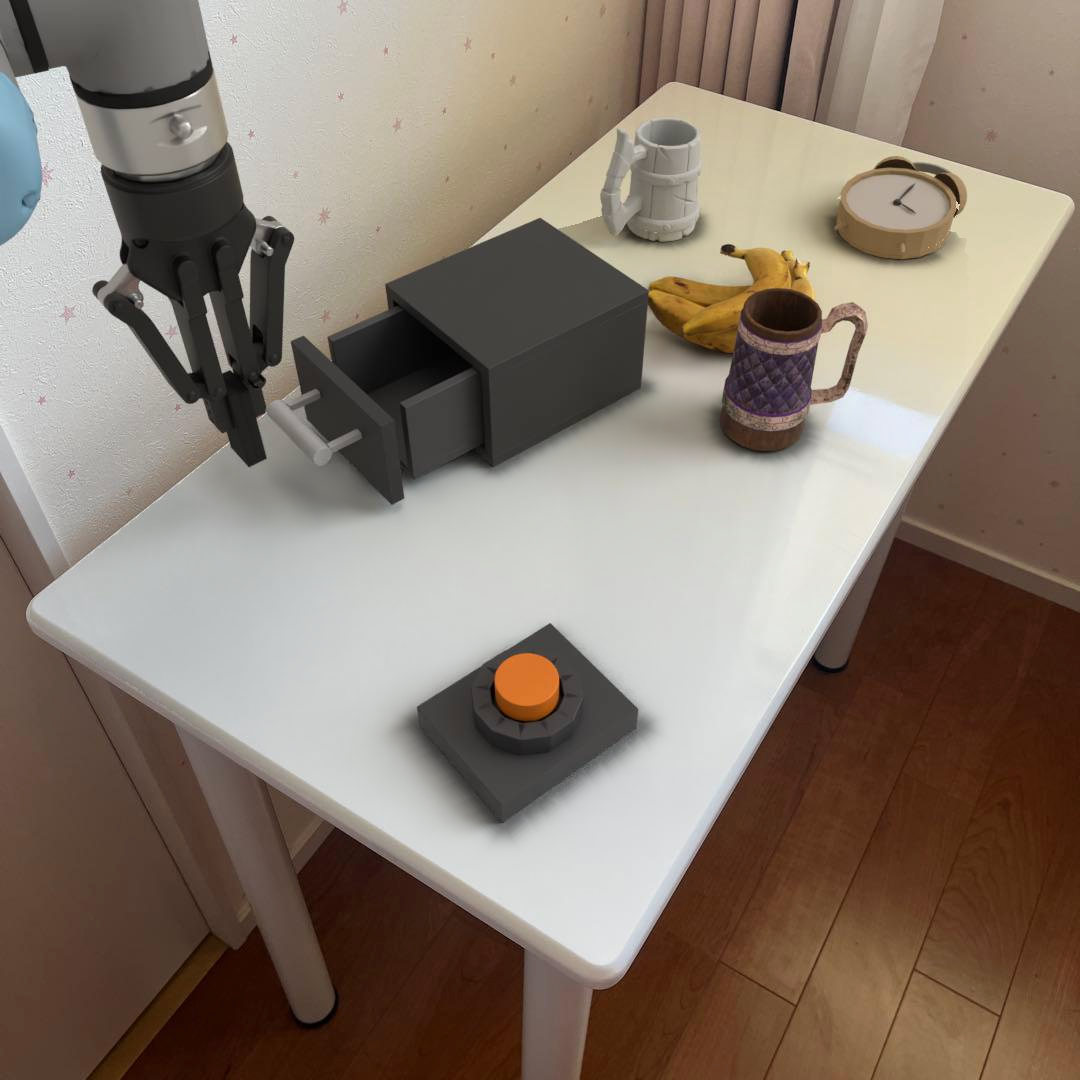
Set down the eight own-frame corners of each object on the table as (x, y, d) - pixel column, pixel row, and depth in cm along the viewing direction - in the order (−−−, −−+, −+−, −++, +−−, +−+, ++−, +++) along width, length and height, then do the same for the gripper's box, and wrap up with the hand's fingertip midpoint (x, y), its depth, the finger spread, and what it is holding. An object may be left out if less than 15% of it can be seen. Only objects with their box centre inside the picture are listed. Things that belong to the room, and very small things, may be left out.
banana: (844, 289, 105) (856, 236, 101) (755, 396, 95) (765, 342, 90) (702, 240, 111) (708, 188, 107) (603, 336, 100) (606, 282, 96)
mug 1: (714, 226, 113) (728, 113, 104) (626, 266, 108) (633, 151, 99) (664, 195, 117) (673, 84, 108) (577, 233, 112) (579, 120, 103)
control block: (502, 823, 67) (500, 789, 64) (419, 725, 72) (413, 690, 69) (636, 728, 72) (640, 692, 69) (550, 642, 77) (550, 605, 74)
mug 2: (719, 452, 90) (739, 332, 81) (716, 396, 95) (734, 276, 86) (847, 458, 89) (880, 337, 80) (837, 401, 94) (867, 281, 85)
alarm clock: (818, 210, 109) (891, 128, 115) (813, 248, 113) (885, 167, 119) (923, 248, 105) (994, 161, 111) (915, 287, 109) (984, 201, 115)
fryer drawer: (343, 531, 83) (328, 452, 77) (260, 441, 89) (240, 362, 84) (541, 425, 91) (541, 347, 85) (451, 350, 97) (445, 273, 92)
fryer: (493, 467, 89) (488, 368, 81) (396, 381, 96) (384, 283, 89) (641, 387, 95) (649, 290, 88) (540, 313, 103) (540, 217, 96)
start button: (521, 733, 67) (520, 717, 66) (482, 690, 70) (481, 674, 68) (571, 699, 69) (572, 682, 68) (532, 659, 71) (532, 642, 70)
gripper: (82, 217, 59) (190, 522, 76) (297, 140, 64) (352, 442, 81) (29, 162, 63) (144, 464, 80) (235, 94, 68) (300, 391, 85)
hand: (248, 453), depth 81 cm, fingers closed
